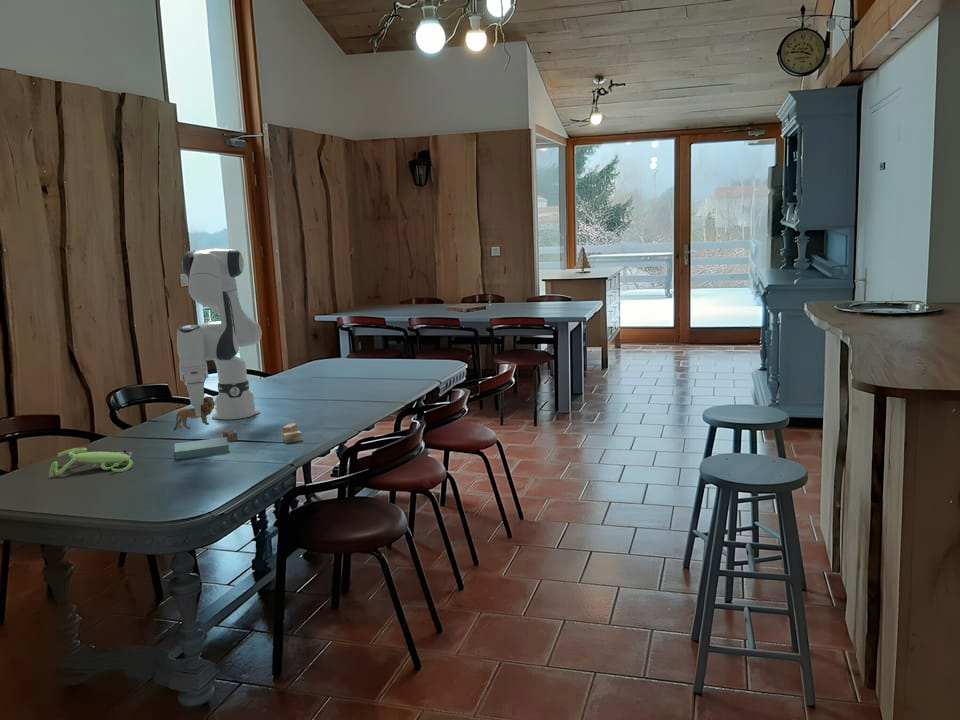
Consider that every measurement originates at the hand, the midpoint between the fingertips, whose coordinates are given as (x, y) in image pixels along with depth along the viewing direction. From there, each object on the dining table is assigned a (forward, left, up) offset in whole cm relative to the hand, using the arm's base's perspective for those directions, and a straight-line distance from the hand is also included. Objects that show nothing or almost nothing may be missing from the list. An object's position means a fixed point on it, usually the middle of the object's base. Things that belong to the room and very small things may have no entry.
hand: (198, 414), depth 264 cm
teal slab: (0, 0, -13) cm, 13 cm away
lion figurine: (-1, 0, -4) cm, 4 cm away
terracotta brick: (-10, +31, -13) cm, 35 cm away
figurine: (+1, -33, -14) cm, 36 cm away
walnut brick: (-12, +10, -13) cm, 21 cm away
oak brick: (+2, +30, -13) cm, 33 cm away
